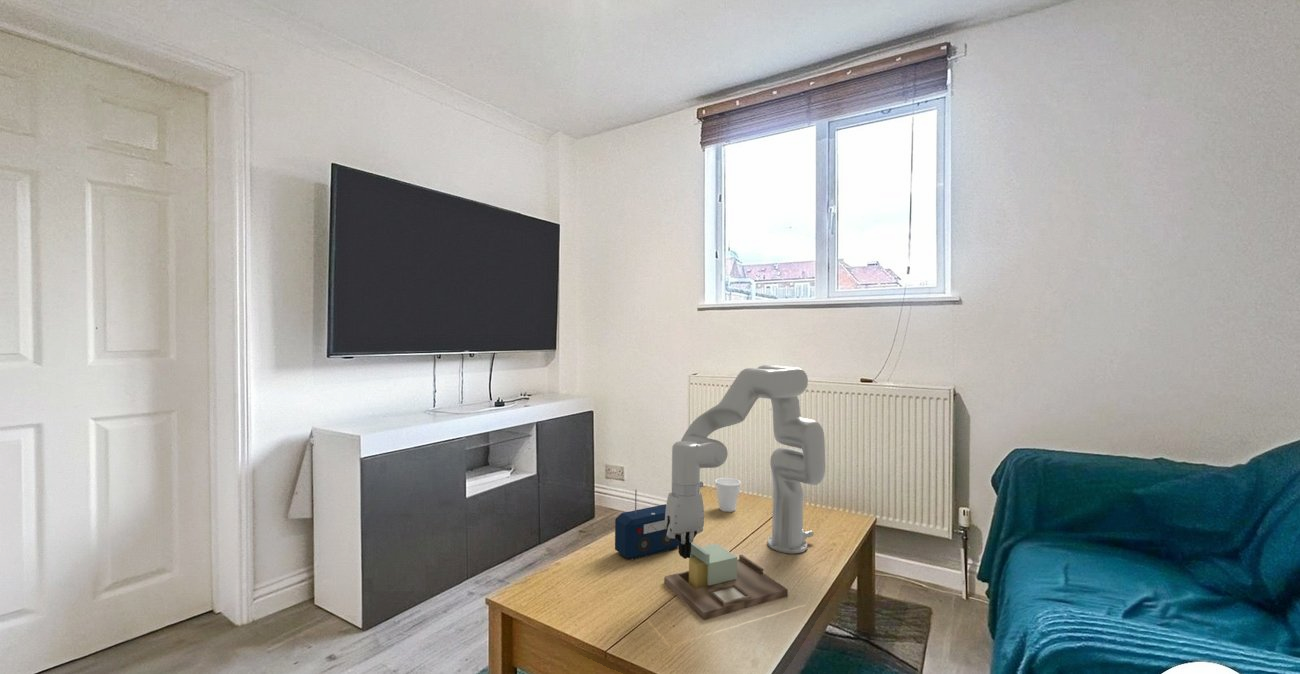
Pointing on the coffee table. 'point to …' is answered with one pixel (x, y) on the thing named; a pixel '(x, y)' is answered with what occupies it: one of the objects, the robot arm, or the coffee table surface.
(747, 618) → the coffee table surface
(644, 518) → the radio
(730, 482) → the cup
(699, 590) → the puzzle board
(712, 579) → the cover
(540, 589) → the coffee table surface
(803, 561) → the coffee table surface
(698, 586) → the block
